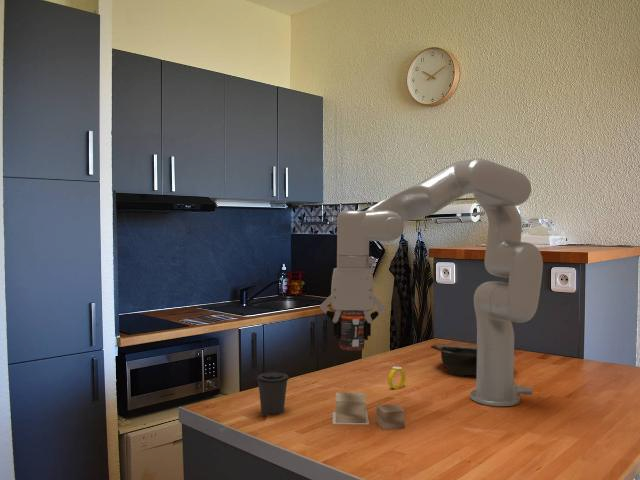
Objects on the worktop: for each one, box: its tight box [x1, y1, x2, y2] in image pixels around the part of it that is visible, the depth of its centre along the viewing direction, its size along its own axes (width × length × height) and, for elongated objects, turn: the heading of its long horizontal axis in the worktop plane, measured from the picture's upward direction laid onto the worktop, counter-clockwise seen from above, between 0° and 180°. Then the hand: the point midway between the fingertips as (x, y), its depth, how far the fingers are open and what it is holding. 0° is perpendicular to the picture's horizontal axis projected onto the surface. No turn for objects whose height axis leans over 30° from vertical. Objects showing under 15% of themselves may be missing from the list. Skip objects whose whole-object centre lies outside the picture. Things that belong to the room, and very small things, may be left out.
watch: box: [387, 366, 406, 390], centre depth 163 cm, size 6×3×6 cm, turn 130°
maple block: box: [335, 391, 367, 423], centre depth 135 cm, size 7×7×5 cm
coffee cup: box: [256, 371, 290, 418], centre depth 140 cm, size 8×8×10 cm
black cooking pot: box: [430, 344, 477, 377], centre depth 183 cm, size 25×25×9 cm
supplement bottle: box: [338, 310, 366, 352], centre depth 135 cm, size 6×6×11 cm
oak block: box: [375, 403, 406, 431], centre depth 130 cm, size 5×5×4 cm
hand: (352, 338), depth 135 cm, fingers closed on supplement bottle, 6 cm apart
